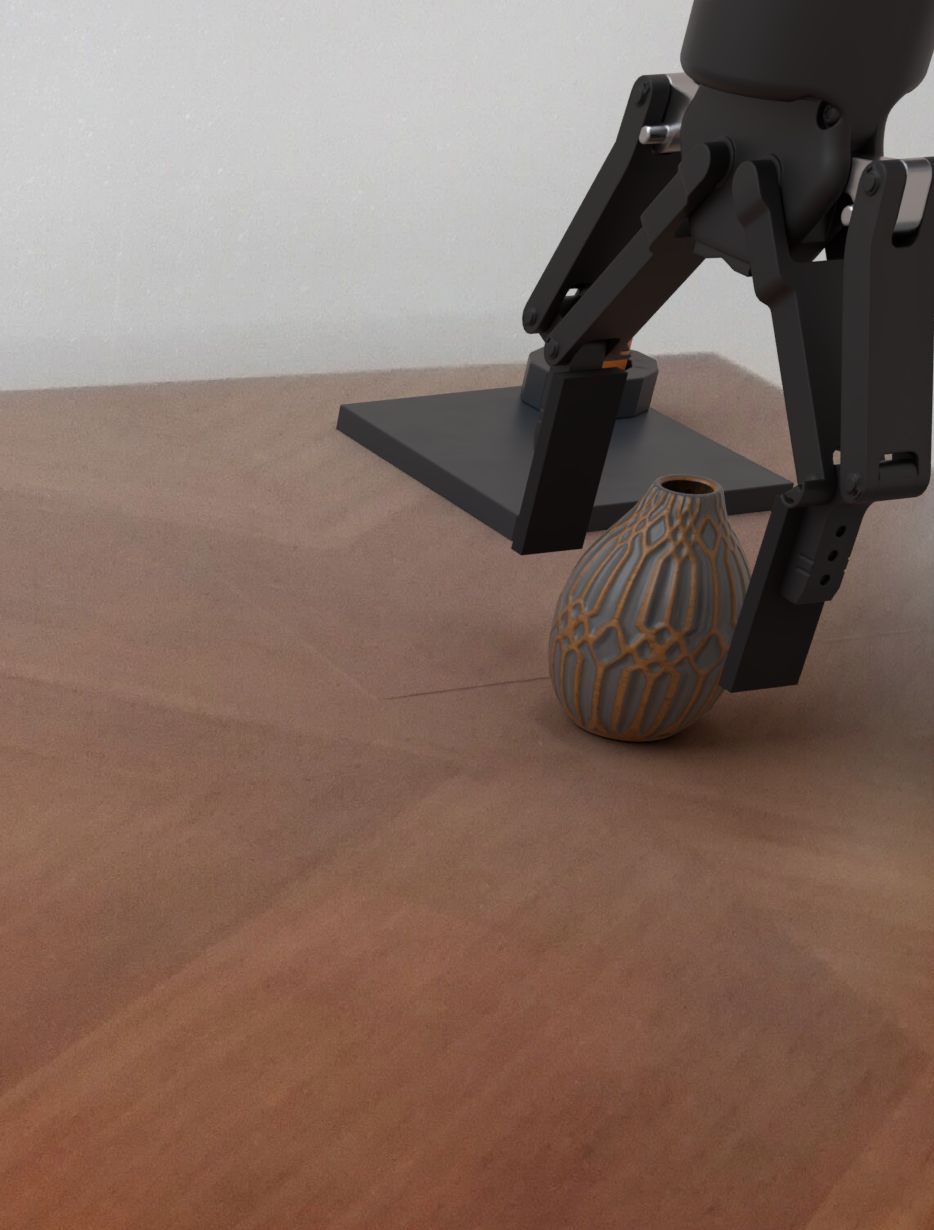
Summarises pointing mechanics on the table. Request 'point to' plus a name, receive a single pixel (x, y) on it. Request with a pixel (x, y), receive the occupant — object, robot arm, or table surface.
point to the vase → (650, 615)
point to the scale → (504, 447)
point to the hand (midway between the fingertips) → (646, 614)
